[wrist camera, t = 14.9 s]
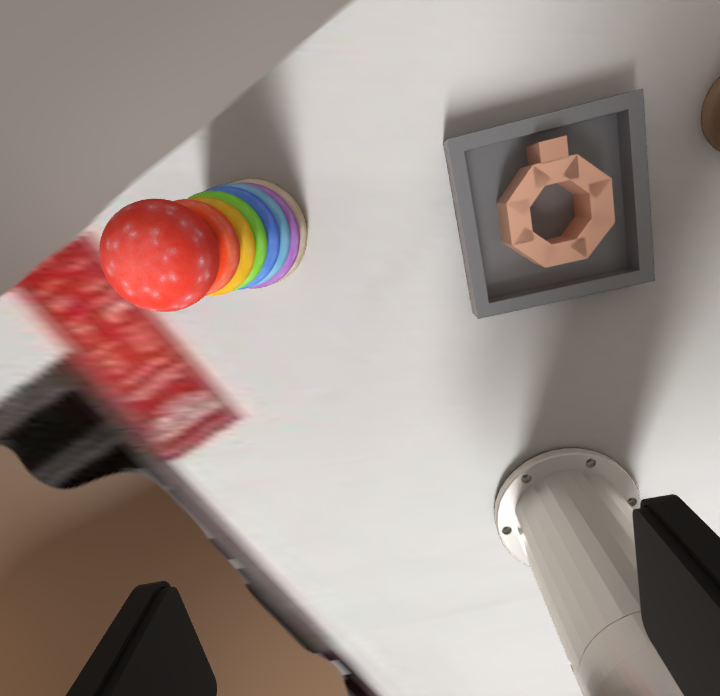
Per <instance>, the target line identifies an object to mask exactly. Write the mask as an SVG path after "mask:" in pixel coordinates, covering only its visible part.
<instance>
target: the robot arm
mask: <svg viewBox="0 0 720 696" xmlns="http://www.w3.org/2000/svg"><path fill="white" fill-rule="evenodd" d="M494 516H495V524H496V528H497V531H498V534H499V536H500V538H501V541H502V543H503V545H504V546H505V547H506V549H507V550H508V551H509V553H510V554H511V555H513V556H514V557H515V558H516V559H517V560H518V561H520V562H522V563H523V564H525V565H527V566H529V567H531V569H532V572H533V574H534V577H535V579H536V582H537V584H538V587H539V589H540V592H541V594H542V596H543V599H544V601H545V604H546V606H547V609H548V611H549V614H550V616H551V618H552V621H553V623H554V626H555V628H556V631H557V633H558V636H559V638H560V640H561V643H562V645H563V648H564V650H565V653H566V655H567V658H568V660H569V663H570V665H571V667H572V670H573V672H574V675H575V677H576V680H577V682H578V684H579V687H580V689H581V691H582V694H583V696H720V537H719V536H718V535H717V534H716V533H715V532H714V531H713V530H712V529H711V528H710V527H709V526H708V525H707V524H706V523H705V522H704V521H703V520H702V519H701V518H700V517H699V516H698V515H697V514H695V513H694V512H693V511H692V510H691V509H690V508H689V507H688V506H687V505H686V504H685V503H684V502H683V501H682V500H681V499H680V498H679V497H678V496H677V495H673V494H671V495H666V496H660V497H654V498H648V499H643V500H641V499H640V495H639V491H638V489H637V487H636V485H635V483H634V481H633V479H632V478H631V477H630V476H629V475H628V473H627V472H626V471H625V470H624V469H623V468H622V467H621V466H620V465H619V464H618V463H617V462H615V461H614V460H612V459H611V458H609V457H607V456H606V455H603V454H600V453H598V452H595V451H592V450H586V449H580V448H564V449H558V450H552V451H549V452H546V453H543V454H540V455H537V456H535V457H533V458H531V459H530V460H528V461H526V462H524V463H523V464H522V465H521V466H519V467H518V468H517V469H515V470H514V471H513V472H512V474H511V475H510V476H509V477H508V478H507V479H506V480H505V482H504V484H503V485H502V487H501V489H500V490H499V493H498V496H497V499H496V502H495V510H494ZM216 694H217V683H216V679H215V676H214V674H213V672H212V669H211V667H210V665H209V662H208V660H207V658H206V655H205V653H204V651H203V648H202V646H201V644H200V641H199V639H198V636H197V634H196V632H195V629H194V627H193V625H192V622H191V620H190V618H189V616H188V613H187V611H186V608H185V606H184V604H183V602H182V599H181V597H180V594H179V592H178V590H177V589H176V588H175V587H171V586H170V585H169V583H167V582H166V581H161V582H155V583H149V584H143V585H139V586H137V587H135V589H134V590H133V591H132V592H131V594H130V596H129V597H128V599H127V600H126V602H125V603H124V605H123V606H122V608H121V610H120V611H119V613H118V614H117V616H116V618H115V619H114V621H113V622H112V624H111V625H110V627H109V628H108V630H107V632H106V633H105V635H104V636H103V638H102V639H101V641H100V643H99V644H98V646H97V647H96V649H95V651H94V652H93V654H92V655H91V657H90V659H89V660H88V662H87V663H86V665H85V666H84V668H83V669H82V671H81V673H80V674H79V676H78V678H77V679H76V681H75V682H74V684H73V685H72V687H71V688H70V690H69V691H68V693H67V695H66V696H216Z"/></svg>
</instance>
